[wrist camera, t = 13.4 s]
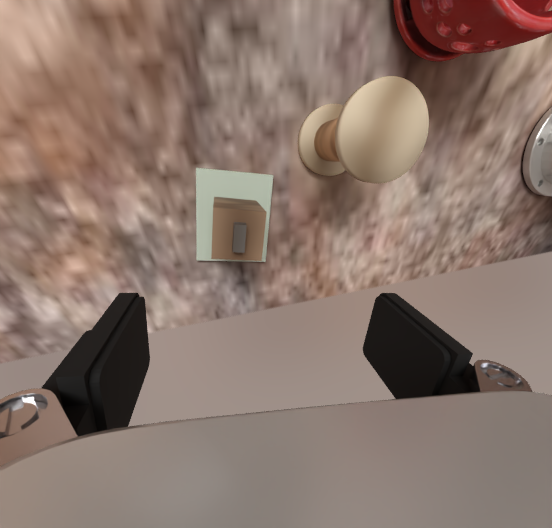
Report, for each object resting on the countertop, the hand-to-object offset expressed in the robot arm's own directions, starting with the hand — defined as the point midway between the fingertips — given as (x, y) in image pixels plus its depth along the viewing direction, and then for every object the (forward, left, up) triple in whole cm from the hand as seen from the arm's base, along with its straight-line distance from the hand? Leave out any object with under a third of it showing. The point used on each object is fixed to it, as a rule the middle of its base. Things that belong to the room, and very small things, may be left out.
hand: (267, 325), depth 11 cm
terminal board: (0, 0, -22) cm, 22 cm away
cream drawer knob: (-10, -9, -22) cm, 25 cm away
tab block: (0, 0, -21) cm, 21 cm away
